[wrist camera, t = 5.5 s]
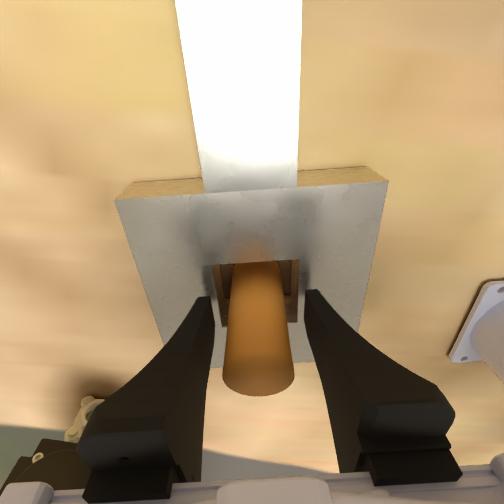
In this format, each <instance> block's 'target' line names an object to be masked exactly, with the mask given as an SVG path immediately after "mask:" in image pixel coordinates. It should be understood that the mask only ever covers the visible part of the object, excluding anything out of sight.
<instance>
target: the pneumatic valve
mask: <svg viewBox="0 0 504 504" xmlns="http://www.w3.org/2000/svg"><path fill="white" fill-rule="evenodd" d="M103 401H105V400H104V399H94V397H93V396H86V397H84V398H83V399H82V401H81V408H80V410H79V412H78V413H77V415H76V417H75V420H74V423H73V426H71V427H70V428H68V429H67V430H66V432H65V439H64V441H58V440H51V439H42V440H41V442H40V443H39V445H38V447H37V449H36V451H35V452H34V454H33V456H32V457H23V456H22V457H20V458H19V460H18V461H17V463H16V465H15V467H14V468H13V470H12V471H11V473H10V475H9V477H8V478H7V480H6V481H5V483H4V485H3V486H2V488H1V490H0V496H1V494H2V493H3V491H4V489H5V488H6V486H7V485H8V484H10V483H22V482H44V483H47V484H49V485H50V486H51V487H52V488H53V489H54V491H59V490H75V489H85V487H86V485H87V482H88V480H89V477H90V474H91V472H92V470H91V469H90V468H89V467H88V465H87V464H86V463H85V462H84V461H83V460H82V458H81V457H80V456H79V454H78V452H77V450H76V447H77V443H78V441H79V439H80V437H81V435H82V432H83V430H84V428H85V426H86V424H87V422H88V420H89V418H90V416H91V414H92V413H93V411H94V409H95V407H96V406H98V405H99V404H101V403H102V402H103Z"/></svg>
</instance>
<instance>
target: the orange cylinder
mask: <svg viewBox="0 0 504 504" xmlns="http://www.w3.org/2000/svg"><path fill="white" fill-rule="evenodd" d="M222 377H223V381H224V383H225V384H226V385H227V386H228V387H229V388H230V389H232V390H233V391H235V392H237V393H240V394H243V395H248V396H268V395H273V394H276V393H279V392H281V391H283V390H285V389H286V388H288V387H289V386H290V385H291V383H292V382H293V380H294V368H293V360H292V353H291V346H290V339H289V331H288V324H287V317H286V310H285V303H284V295H283V288H282V281H281V274H280V268H279V266H278V264H277V262H276V261H263V262H248V263H236V264H235V266H234V268H233V275H232V285H231V295H230V305H229V314H228V324H227V334H226V344H225V354H224V364H223V374H222Z"/></svg>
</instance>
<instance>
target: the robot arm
mask: <svg viewBox="0 0 504 504" xmlns="http://www.w3.org/2000/svg"><path fill="white" fill-rule="evenodd" d="M304 323H305V328H306V333H307V338H308V341H309V344H310V347H311V350H312V353H313V356H314V360H315V363H316V366H317V369H318V372H319V375H320V378H321V382H322V386H323V390H324V395H325V399H326V404H327V409H328V414H329V418H330V423H331V428H332V433H333V438H334V444H335V449H336V454H337V460H338V465H339V471H340V473H337V474H321V475H305V476H289V477H272V478H255V479H239V480H223V481H206V482H201V465H202V446H203V428H204V413H205V400H206V389H207V382H208V376H209V371H210V365H211V359H212V353H213V348H214V340H215V320H214V314H213V309H212V304H211V298H210V296H202V297H198V298H197V299H196V301H195V302H194V304H193V306H192V308H191V309H190V311H189V312H188V314H187V316H186V317H185V319H184V320H183V322H182V323H181V325H180V326H179V327H178V329H177V330H176V332H175V333H174V334H173V336H172V337H171V338H170V339H169V341H168V342H167V343H166V344H165V346H164V347H163V348H162V349H161V350H160V351H159V353H158V354H157V355H156V356H155V357H154V358H153V359H152V360H151V361H150V362H149V363H148V364H147V365H146V366H145V367H144V368H143V369H142V370H141V371H140V372H139V373H138V374H137V375H136V376H134V377H133V378H132V379H131V380H130V381H129V382H128V383H126V384H125V385H124V386H123V387H122V388H120V389H119V390H118V391H117V392H115V393H114V394H113V395H111V396H110V397H109V398H107V399H106V400H105V401H103V402H102V403H101V404H99V405H98V406H96V407H95V409H94V411H93V413H92V414H91V416H90V418H89V420H88V422H87V424H86V426H85V428H84V430H83V432H82V435H81V437H80V439H79V441H78V443H77V447H76V450H77V452H78V454H79V456H80V457H81V458H82V460H83V461H84V462H85V463H86V464H87V465H88V467H89V468H90V469H91V470H92V472H91V474H90V477H89V480H88V482H87V485H86V487H85V489H75V490H59V491H54V489H53V488H52V487H51V486H50V485H49V484H47V483H44V482H22V483H10V484H8V485H7V486H6V488H5V489H4V491H3V493H2V494H1V496H0V504H504V453H502V454H499V455H497V456H495V457H494V458H493V459H492V460H491V462H490V464H484V465H468V466H458V464H457V462H456V461H455V459H454V457H453V455H452V454H451V452H450V450H449V449H451V444H450V442H449V440H448V439H447V437H446V433H447V432H448V430H449V428H450V427H451V425H452V424H453V421H454V419H455V411H454V410H453V408H452V406H451V405H450V403H449V402H448V400H447V399H446V397H445V396H444V395H443V393H442V392H441V391H440V390H439V388H438V387H437V386H436V385H435V384H433V383H431V382H430V381H428V380H426V379H424V378H422V377H420V376H418V375H417V374H415V373H413V372H411V371H409V370H408V369H406V368H405V367H403V366H401V365H400V364H398V363H397V362H395V361H393V360H392V359H391V358H389V357H388V356H386V355H385V354H383V353H382V352H381V351H379V350H378V349H376V348H375V347H374V346H373V345H371V344H370V343H369V342H368V341H366V340H365V339H364V338H363V337H362V336H360V335H359V334H358V333H357V332H356V331H355V330H354V329H353V328H352V327H351V326H350V325H349V324H348V323H347V322H346V321H345V320H344V319H343V318H342V317H341V316H340V315H339V314H338V313H337V312H336V311H335V310H334V308H333V307H332V306H331V305H330V304H329V303H328V301H327V300H326V299H325V298H324V296H323V295H322V294H321V293H320V291H319V290H318V289H308V290H305V302H304ZM449 359H450V360H451V362H454V363H459V362H475V361H484V362H485V363H486V364H487V365H488V366H489V367H490V369H491V370H492V371H493V372H494V373H495V374H496V375H497V377H498V378H499V379H500V380H501V381H502V382H503V383H504V280H502V281H491V282H488V283H486V284H485V285H484V286H483V287H482V289H481V291H480V293H479V295H478V297H477V299H476V301H475V303H474V305H473V307H472V309H471V311H470V313H469V315H468V318H467V320H466V322H465V324H464V326H463V328H462V330H461V332H460V334H459V336H458V338H457V340H456V342H455V344H454V346H453V348H452V350H451V352H450V354H449Z"/></svg>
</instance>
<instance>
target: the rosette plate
mask: <svg viewBox="0 0 504 504" xmlns="http://www.w3.org/2000/svg"><path fill="white" fill-rule="evenodd" d="M175 5H176V11H177V18H178V24H179V30H180V37H181V43H182V50H183V56H184V62H185V69H186V75H187V81H188V88H189V94H190V100H191V107H192V113H193V120H194V126H195V132H196V139H197V145H198V151H199V158H200V164H201V171H202V177H203V178H191V179H177V180H162V181H148V182H134V183H132V184H131V185H130V186H129V187H128V188H127V189H126V190H124V191H123V192H122V193H121V194H120V195H119V196H118V197H116V198H115V199H114V202H115V205H116V207H117V210H118V213H119V216H120V219H121V222H122V225H123V228H124V231H125V234H126V236H127V239H128V242H129V245H130V248H131V251H132V254H133V257H134V260H135V263H136V265H137V268H138V271H139V274H140V277H141V280H142V283H143V286H144V289H145V292H146V294H147V297H148V300H149V303H150V306H151V309H152V312H153V315H154V318H155V321H156V324H157V326H158V329H159V332H160V335H161V338H162V341H163V344H164V346H165V344H166V343H167V342H168V341H169V339H170V338H171V337H172V336H173V334H174V333H175V332H176V330H177V329H178V327H179V326H180V325H181V323H182V322H183V320H184V319H185V317H186V316H187V314H188V312H189V311H190V309H191V308H192V306H193V304H194V302H195V301H196V299H197V298H198V297H202V296H210V298H211V304H212V309H213V314H214V320H215V340H214V348H213V353H212V359H211V365H210V368H218V367H223V364H224V354H225V344H226V334H227V324H228V314H229V305H230V299H224V294H223V287H222V280H221V274H220V267H219V264H233V263H248V262H263V261H278V260H292V267H291V295H284V303H285V310H286V317H287V324H288V331H289V339H290V346H291V353H292V360H293V363H296V362H312V361H315V360H314V356H313V353H312V350H311V347H310V344H309V341H308V338H307V333H306V328H305V323H304V302H305V290H308V289H318V290H319V291H320V293H321V294H322V295H323V296H324V298H325V299H326V300H327V301H328V303H329V304H330V305H331V306H332V307H333V308H334V310H335V311H336V312H337V313H338V314H339V315H340V316H341V317H342V318H343V319H344V320H345V321H346V322H347V323H348V324H349V325H350V326H351V327H352V328H353V329H354V330H355V331H356V332H357V333H358V328H359V323H360V318H361V313H362V308H363V304H364V299H365V294H366V289H367V284H368V279H369V275H370V270H371V265H372V260H373V255H374V250H375V246H376V241H377V236H378V231H379V226H380V221H381V217H382V212H383V207H384V202H385V197H386V192H387V188H388V183H389V181H388V180H387V179H385V178H384V177H382V176H380V175H379V174H377V173H376V172H374V171H373V170H371V169H370V168H368V167H366V166H365V167H351V168H336V169H322V170H307V171H297V160H298V123H299V86H300V49H301V11H302V0H175Z"/></svg>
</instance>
